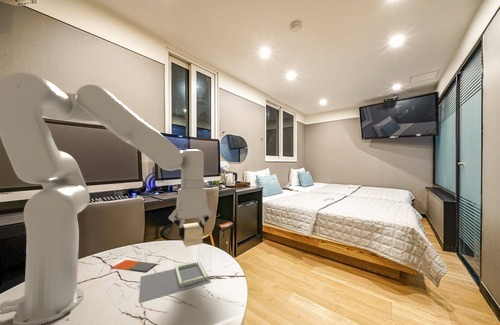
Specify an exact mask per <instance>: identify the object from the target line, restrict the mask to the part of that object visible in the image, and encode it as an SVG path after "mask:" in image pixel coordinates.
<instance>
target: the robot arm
mask: <svg viewBox="0 0 500 325" xmlns="http://www.w3.org/2000/svg"><path fill="white" fill-rule="evenodd" d="M43 116H44V117H45V118H50V119H53V120H60V121H74V122H75V121H80V122H97V123H99V124H100V125H102V126H103V127H104V128H106V129H107V130H108V131H110V132H111V133H112V134H113V135H115V136H116V137H117V138H118V139H120V140H121V141H123V142H125V143H126V144H129V145H130V146H132V147H134V148H135V149H136V150H138V151H139V152H140V153H141V154H143V155H145V156H146V157H147V158H148V159H150V160H151V161H152V162H154V163H155V164H156V165H158V166H159V168H161V169H162V170H165V171H176V170H181V171H180V173H181V174H180V188H178V189H177V196H176V204H175V209H174V210H173V211H172V212H171V214H169V216H168V220H169V221H171V222H172V223H174V224H175V226H177V227H178V230H179V231H178V237H180V239H181V240H182V241H183V240H184V229H185V228H184V224H185V222H186V220H187V219H195V218H198V219H199V222H198V224H199V225H200V226H201V227H202V228H203V234H204V233H205V225H206V222H207V221H208V220H209V219H210V218H211V217H213V215H214V212H213V211H212V210H211V209H210V207H209V206H208V200H207V199H208V197H207V193H206V192H207V190H206V187H205V186H207V185H208V180H205V179H204V166H205V164H204V162H205V161H204V160H205V158H204V156H205V155H204V154H205V153H204V152H203V151H202V150H201V149H189V148H188V149H184V150H180V148H178V147H177V146H176V145H175V144H174V143H172V142H171V141H170V140H169V139H168V138H167V137H166V136H164V135H163V134H161V133H160V132H159V131H158V130H156V129H155V128H153V127H152V126H151V125H149V124H148V123H147V122H145V121H144V120H143V119H142V118H140V117H139V116H138V115H137V114H136V113H134V112H133V111H132V110H131V109H129V108H128V107H127V106H126V105H125V104H123V103H122V102H121V101H120V100H119V99H117V97H115V96H114V95H113V94H112V93H111V92H109V91H108V90H106V89H105V88H103V87H101V86H99V85H96V84H85V85H83V86H81V87H79V88H78V89H77V90H76V93H70V92H63V91H62V90H61V89H60V88H59V87H57V86H56V85H55V84H53V83H52V82H50V81H49V80H47V79H45V78H43V77H42V76H39V75H37V74H33V73H30V72H22V71H21V72H19V71H18V72H12V73H9V74H6V75H4V76H2V77H0V140H1V142H2V146H3V147H4V149H5V152H6V154H7V157H8V159H9V162H10V164H11V167H12V169H13V172H14V173H15V175H16V176H17V178H18V179H19V180H21V181H22V182H24V183H27V184H31V185H32V184H33V185H41V186H42V190H40V191H38V192H35V193H34V194H33V195H32V196H30V198H29V199H28V200H27V202H26V203H25V206H24V209H23V220H24V225H25V232H26V249H25V254H26V256H25V276H24V294H23V295H21V297H19V298H12V299H8V300H7V299H6V300H3V301H2V302H1V303H0V315H5V314H6V315H7V314H10V313H13V312H15V313H14V315H13V318H12V325H41V324H42V325H45V324H47V322H48V323H50V322H52V321H54V320H58V319H60V318H62V317H63V316H65V315H66V314H69V313H70V312H72V310H74V309H75V308H76V307H78V306H79V305H80V304H81V303H82V301H83V300H84V297H85V296H84V295H85V292H84V291H83V290H82V289H81V288H80V289H79V288H78V267H79V266H78V265H79V248H80V247H79V243H80V242H79V240H80V233H79V232H80V229H79V222H78V214H79V213H81V212H83V211H84V210H85V209H86V208H87V206H88V205H89V203H90V199H91V198H90V197H91V196H90V193H89V189H88V186H87V184H86V181H85V179H84V177H83V174H82V171H81V169H80V166H79V164H78V162H77V160H75V158H74V157H73V156H72V155H71V154H69V153H67V152H66V151H62V150H59V149H58V147H57V145H56V143H55V140H54V138H53V135H52V131H51V130H50V128H49V126H48V125H47V123H46V122H45V120H44V118H43ZM176 217H177V218H178V219H179V220H178V219H177V218H176ZM44 323H45V324H44Z"/></svg>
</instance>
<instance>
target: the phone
mask: <svg viewBox="0 0 500 325" xmlns="http://www.w3.org/2000/svg"><path fill="white" fill-rule="evenodd" d="M156 266H158V263H152V262H145V261H137V260H128V259H124V260H123V261H121V262H118V263H117V264H116V265H113V266H112V267H111V268H110V269H111V270H114V269H116V270H123V271H131V272H137V273H144V274H148V272H150V271H151V270H152V269H154V268H155V267H156Z"/></svg>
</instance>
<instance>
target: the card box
mask: <svg viewBox="0 0 500 325" xmlns="http://www.w3.org/2000/svg"><path fill="white" fill-rule="evenodd" d="M184 228H185V229H184V240H182V243H183V244H184V247H185V248H187V247H191V246H196V245H202V244H203V243H204V242H203V234H204V233H203V228H202V227H201V226H200V225H199V222H193V223H192V222H191V223H184Z"/></svg>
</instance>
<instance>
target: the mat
mask: <svg viewBox="0 0 500 325" xmlns="http://www.w3.org/2000/svg"><path fill="white" fill-rule="evenodd" d="M139 282H140V283H139V295H138V296H139V298H138V304H141V303H144V302H147V301H148V302H149V301H152V300H155V299H158V298H162V297H165V296H168V295H169V296H170V295H172V294H175V293H176V294H177V293H180V292H183V291H186V290H189V289H193V288H196V287H201V286H204V285H207V284H211V283H212V281H211V279H210V278H209V276H208V274H207V272H206V270H205V268H204V266H203V265H202V263H201V262H200V260H197V261H192V262H188V263H184V264H179V265H175V266H174V268H172V269H168V270H164V271H163V270H162V271H159V272H155V273H150V274H147V275H142V276H140V281H139Z"/></svg>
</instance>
